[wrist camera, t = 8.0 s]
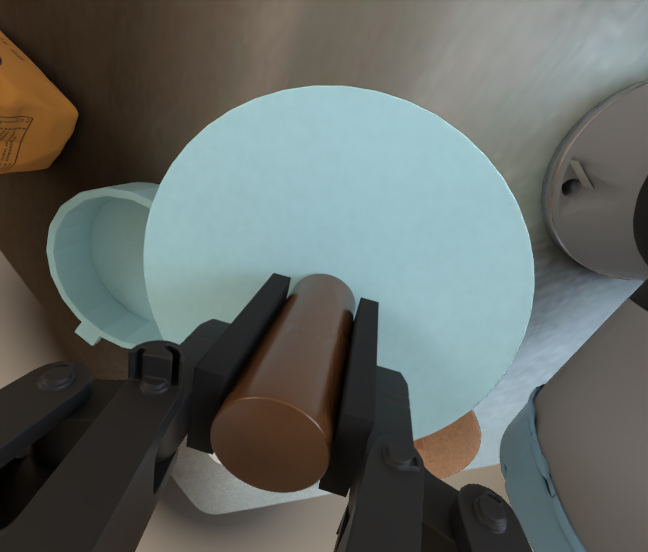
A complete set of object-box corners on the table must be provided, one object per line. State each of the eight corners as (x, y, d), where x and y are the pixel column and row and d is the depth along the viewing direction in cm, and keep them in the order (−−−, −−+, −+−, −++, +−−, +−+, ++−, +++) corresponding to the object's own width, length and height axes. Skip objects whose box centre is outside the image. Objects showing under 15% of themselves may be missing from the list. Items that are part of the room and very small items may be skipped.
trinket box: (377, 427, 41) (376, 503, 32) (350, 351, 38) (340, 414, 29) (471, 413, 38) (497, 492, 30) (450, 330, 35) (472, 392, 27)
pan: (278, 246, 35) (262, 262, 30) (165, 364, 43) (139, 391, 38) (147, 123, 32) (109, 120, 28) (54, 273, 40) (12, 290, 36)
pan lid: (613, 303, 15) (922, 521, 6) (332, 478, 21) (298, 704, 13) (316, -25, 12) (168, -391, 4) (100, 285, 19) (-135, 404, 10)
